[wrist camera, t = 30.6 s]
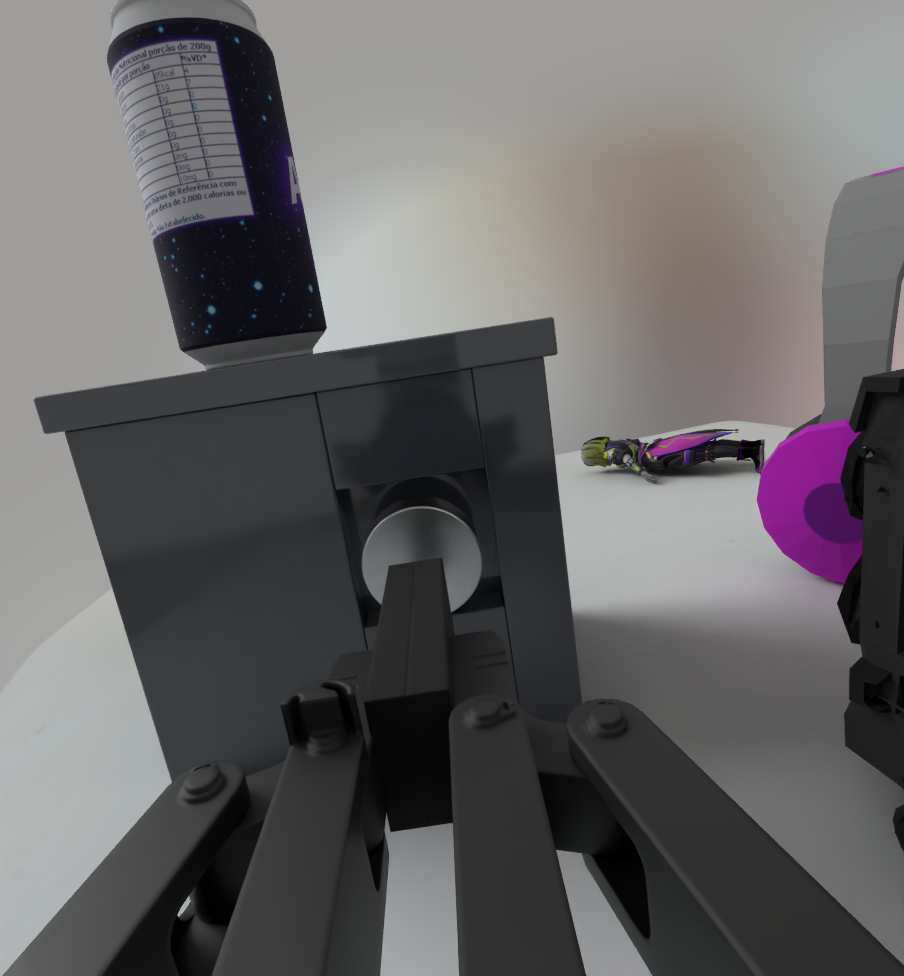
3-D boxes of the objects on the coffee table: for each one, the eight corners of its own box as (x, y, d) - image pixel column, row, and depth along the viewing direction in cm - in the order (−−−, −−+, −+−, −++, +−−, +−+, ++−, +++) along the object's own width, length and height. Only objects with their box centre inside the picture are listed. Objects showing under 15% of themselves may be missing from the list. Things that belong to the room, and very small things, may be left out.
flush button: (373, 628, 21) (350, 516, 20) (376, 610, 22) (356, 505, 21) (490, 610, 21) (473, 497, 20) (486, 593, 22) (470, 487, 21)
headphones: (951, 617, 27) (979, 111, 22) (746, 578, 33) (732, 181, 29) (1024, 488, 40) (1051, 152, 35) (866, 478, 46) (870, 194, 41)
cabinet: (157, 798, 23) (32, 397, 19) (242, 654, 34) (170, 376, 30) (598, 730, 23) (554, 316, 19) (545, 607, 34) (510, 323, 30)
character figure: (765, 459, 57) (594, 458, 65) (766, 419, 56) (593, 423, 64) (760, 487, 49) (567, 482, 57) (762, 441, 48) (565, 443, 56)
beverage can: (350, 347, 23) (282, -15, 21) (194, 372, 21) (92, -36, 18) (309, 354, 28) (250, 63, 26) (179, 374, 26) (97, 54, 23)
